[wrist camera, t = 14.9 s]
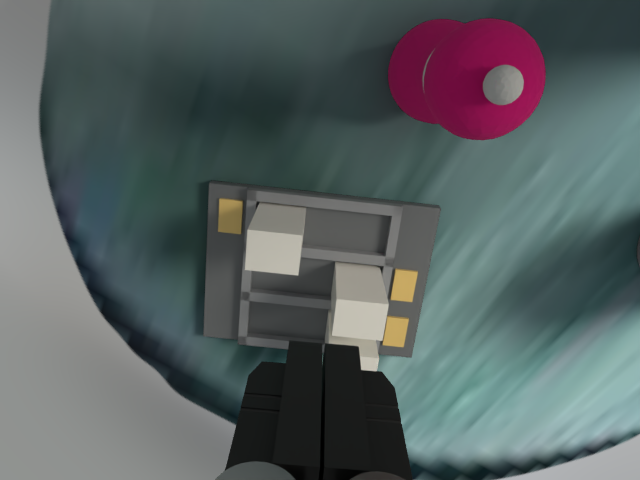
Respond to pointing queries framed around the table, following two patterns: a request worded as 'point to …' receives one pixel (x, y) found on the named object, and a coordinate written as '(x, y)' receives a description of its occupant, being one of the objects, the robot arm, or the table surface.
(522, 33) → the pepper mill
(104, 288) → the table surface
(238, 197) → the switch box
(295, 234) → the tab inner
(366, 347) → the block
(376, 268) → the tab middle
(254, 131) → the table surface
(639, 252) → the pillar candle
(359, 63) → the table surface
